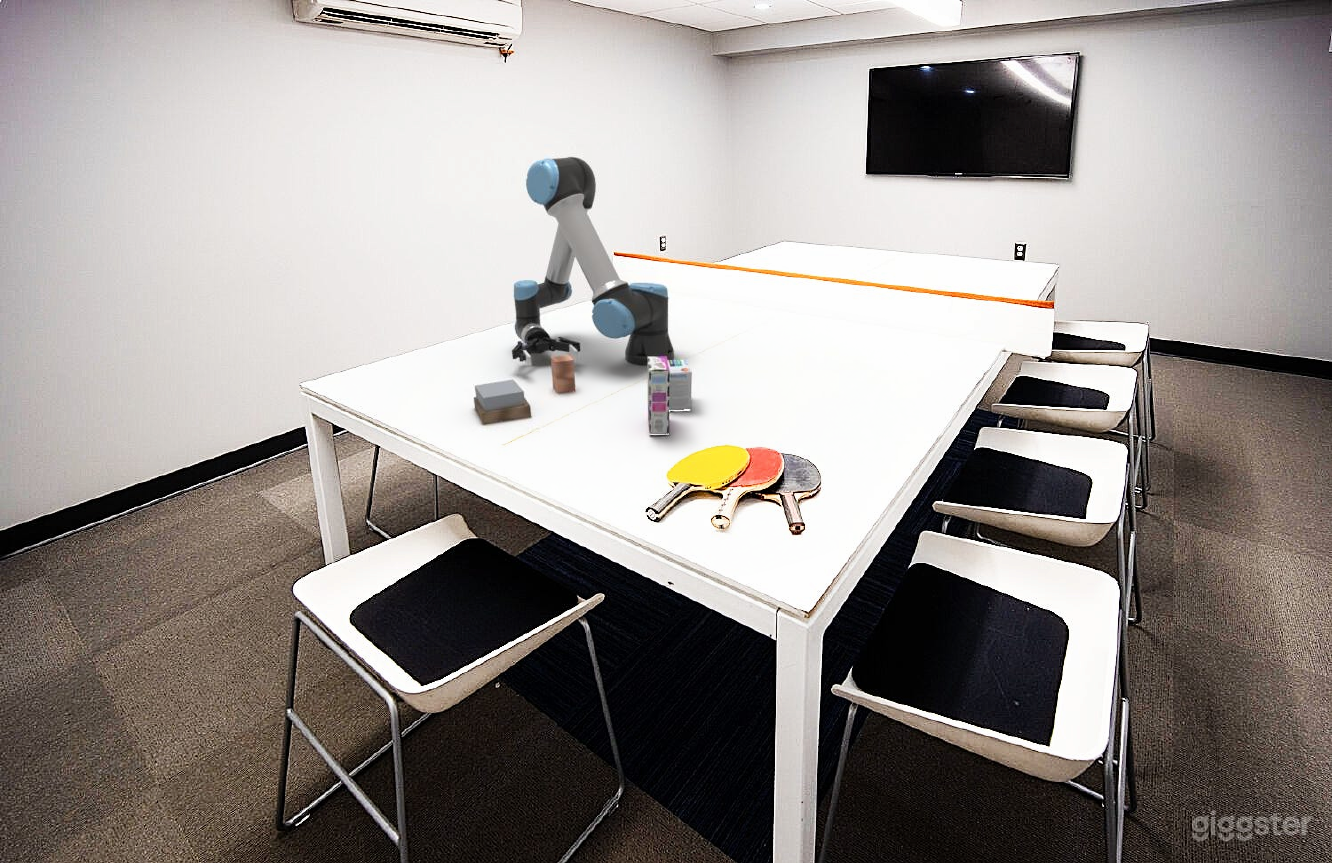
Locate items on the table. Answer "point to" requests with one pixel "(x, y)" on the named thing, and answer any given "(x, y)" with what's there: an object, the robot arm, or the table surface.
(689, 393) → the light bulb box
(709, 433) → the table surface
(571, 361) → the terracotta block
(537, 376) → the table surface
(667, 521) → the table surface
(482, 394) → the slate slab
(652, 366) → the candy bar box
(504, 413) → the walnut slab
